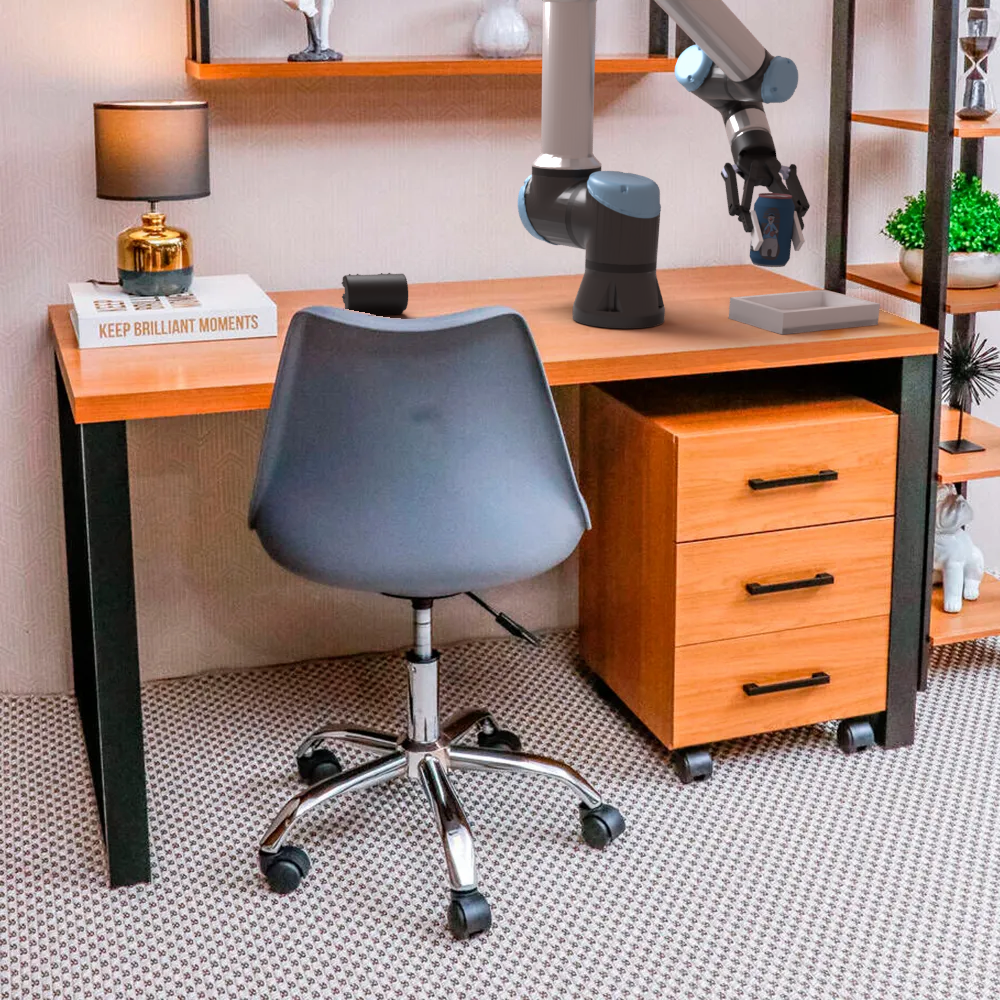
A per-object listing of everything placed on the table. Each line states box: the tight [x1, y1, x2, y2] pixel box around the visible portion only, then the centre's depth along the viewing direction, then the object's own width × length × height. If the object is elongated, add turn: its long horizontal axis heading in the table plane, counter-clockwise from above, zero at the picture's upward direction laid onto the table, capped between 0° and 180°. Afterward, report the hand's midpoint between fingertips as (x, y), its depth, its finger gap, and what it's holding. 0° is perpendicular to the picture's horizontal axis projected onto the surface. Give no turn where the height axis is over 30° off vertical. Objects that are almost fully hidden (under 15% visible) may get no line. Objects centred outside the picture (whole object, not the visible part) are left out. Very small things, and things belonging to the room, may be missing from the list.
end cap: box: [341, 272, 409, 316], centre depth 236 cm, size 10×7×7 cm
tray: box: [728, 289, 881, 335], centre depth 237 cm, size 20×14×4 cm
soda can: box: [749, 192, 795, 268], centre depth 248 cm, size 7×7×12 cm
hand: (779, 245), depth 245 cm, fingers closed on soda can, 7 cm apart
